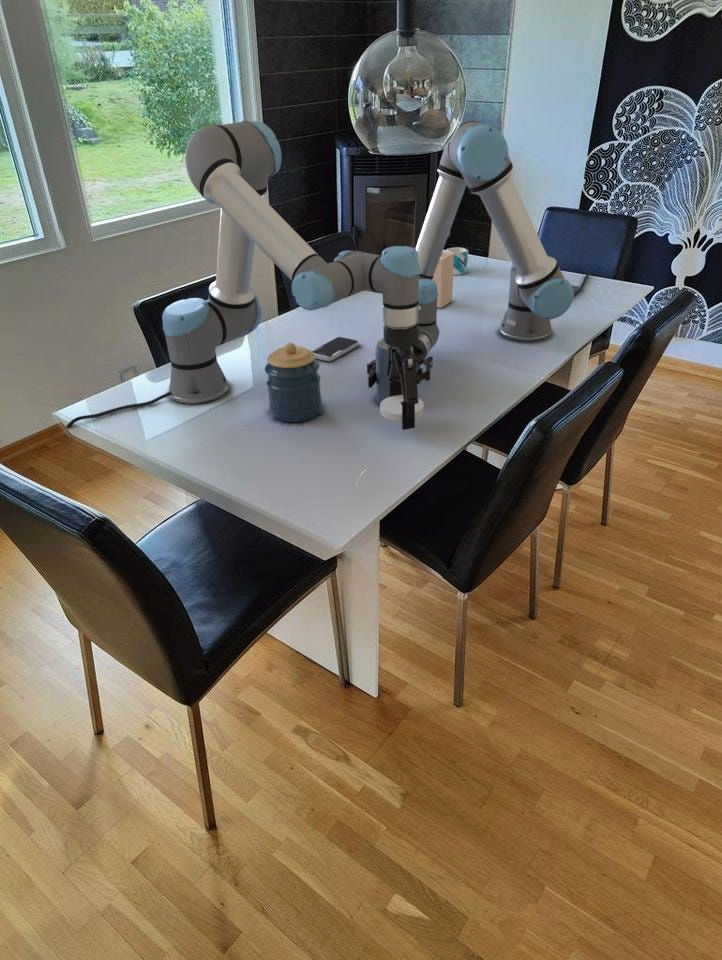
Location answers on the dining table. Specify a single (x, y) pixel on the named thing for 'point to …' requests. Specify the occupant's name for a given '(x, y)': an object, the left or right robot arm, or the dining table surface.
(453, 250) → the mug
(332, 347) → the smartphone
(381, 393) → the jar
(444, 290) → the soap dispenser
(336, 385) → the dining table surface
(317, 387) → the canister
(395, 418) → the lid
